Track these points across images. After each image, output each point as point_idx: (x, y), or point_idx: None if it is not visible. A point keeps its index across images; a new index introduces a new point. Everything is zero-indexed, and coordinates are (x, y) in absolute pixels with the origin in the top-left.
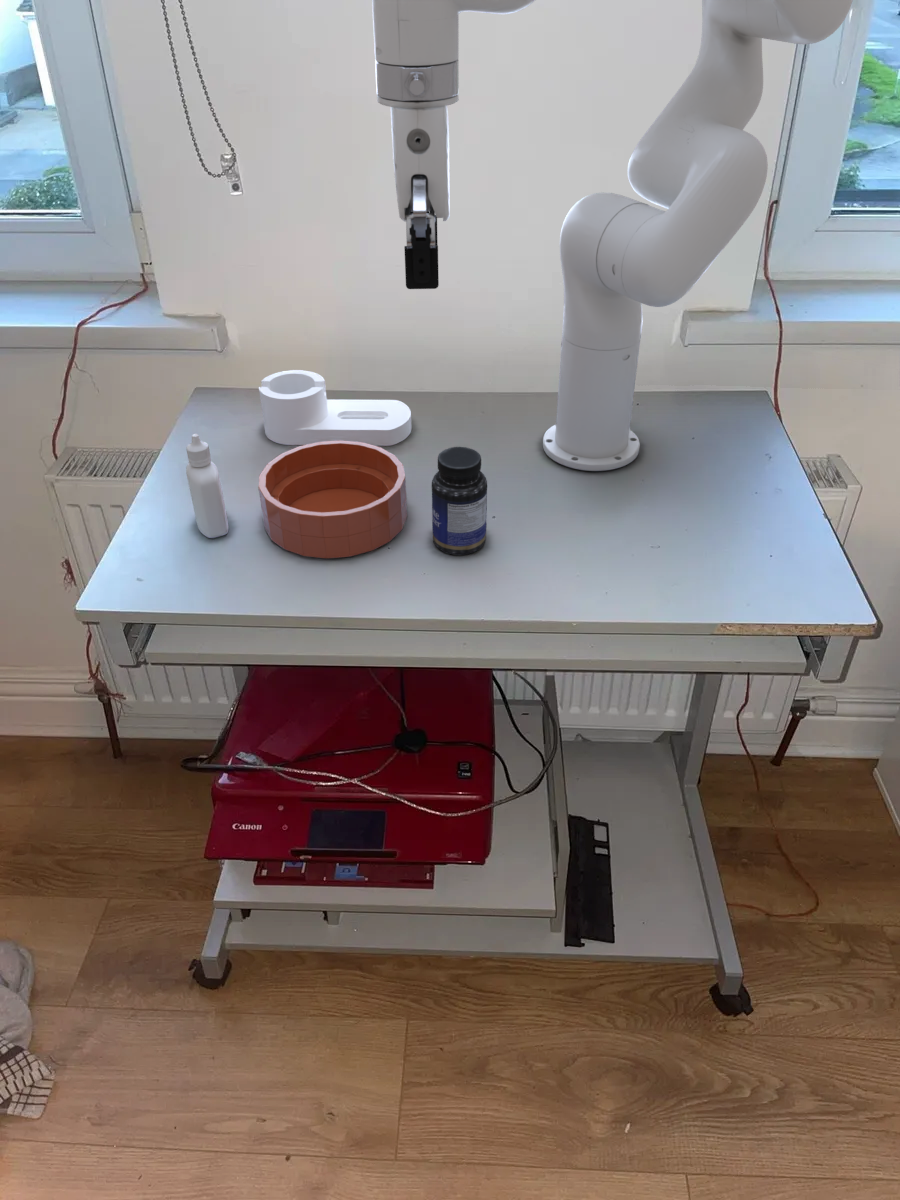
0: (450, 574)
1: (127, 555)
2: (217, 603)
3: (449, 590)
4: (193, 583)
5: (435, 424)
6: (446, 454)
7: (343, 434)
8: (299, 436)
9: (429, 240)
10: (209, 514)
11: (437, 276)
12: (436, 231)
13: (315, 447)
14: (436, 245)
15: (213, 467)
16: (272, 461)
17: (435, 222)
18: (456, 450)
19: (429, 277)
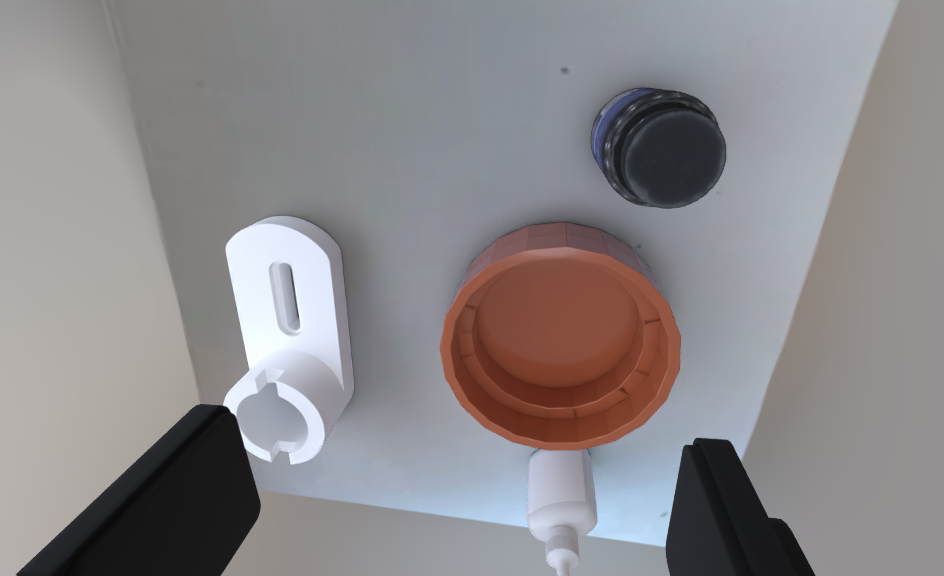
0: (729, 151)
1: (612, 528)
2: None
3: (773, 153)
4: None
5: (260, 174)
6: (656, 189)
7: (340, 323)
8: (347, 379)
9: (194, 488)
10: (593, 482)
11: (745, 484)
12: (139, 494)
13: (459, 381)
14: (193, 434)
15: (568, 518)
16: (506, 436)
17: (99, 551)
18: (642, 167)
19: (790, 533)
